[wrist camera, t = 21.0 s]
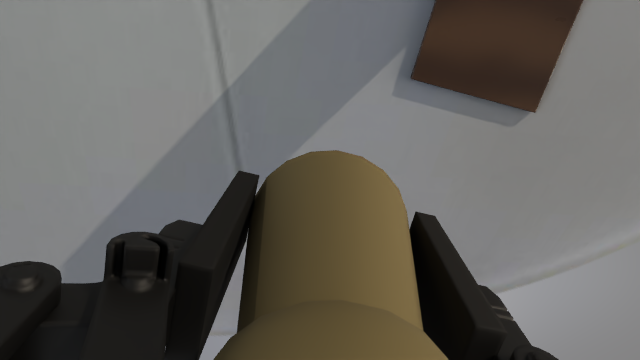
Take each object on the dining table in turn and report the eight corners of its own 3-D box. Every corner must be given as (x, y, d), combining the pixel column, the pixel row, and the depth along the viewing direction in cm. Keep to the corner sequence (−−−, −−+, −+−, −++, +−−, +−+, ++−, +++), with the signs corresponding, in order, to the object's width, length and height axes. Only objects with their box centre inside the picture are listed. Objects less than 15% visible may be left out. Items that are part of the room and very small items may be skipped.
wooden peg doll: (434, 252, 16) (633, 636, 6) (301, 317, 17) (264, 745, 7) (359, 119, 15) (445, 312, 4) (218, 200, 16) (-2, 520, 5)
